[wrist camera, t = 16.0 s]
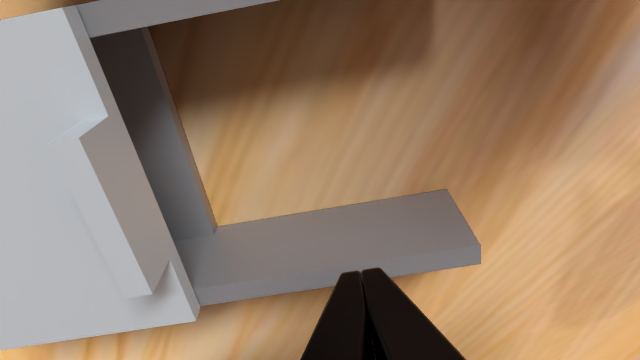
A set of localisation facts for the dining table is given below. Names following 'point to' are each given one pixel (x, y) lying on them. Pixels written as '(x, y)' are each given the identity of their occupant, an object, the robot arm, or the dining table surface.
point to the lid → (75, 198)
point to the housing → (266, 234)
